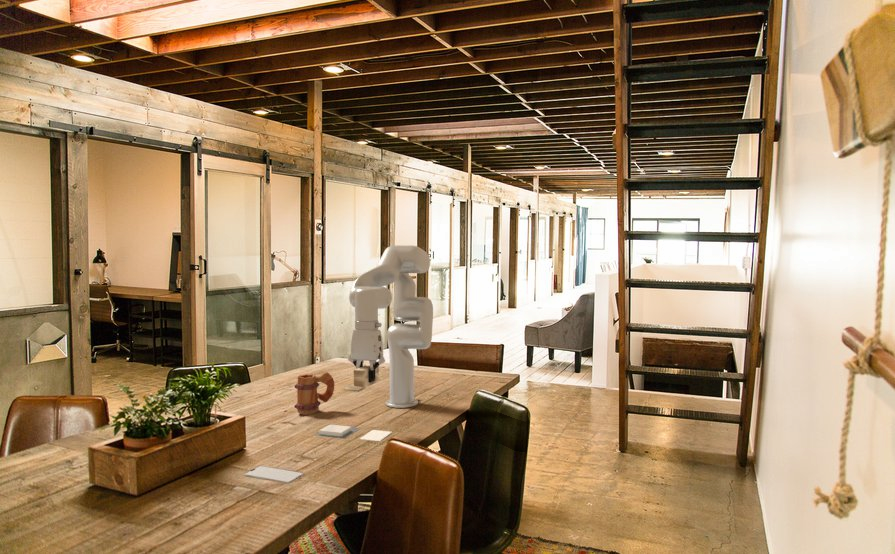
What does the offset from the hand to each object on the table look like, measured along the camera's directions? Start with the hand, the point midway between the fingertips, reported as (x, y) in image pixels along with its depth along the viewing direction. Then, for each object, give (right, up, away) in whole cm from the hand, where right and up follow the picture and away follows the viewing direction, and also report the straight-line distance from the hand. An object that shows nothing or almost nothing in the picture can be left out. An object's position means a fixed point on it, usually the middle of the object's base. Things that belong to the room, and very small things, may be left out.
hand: (366, 380), depth 201 cm
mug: (-23, -17, +26) cm, 38 cm away
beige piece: (-1, -2, -2) cm, 3 cm away
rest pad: (+4, -18, -3) cm, 18 cm away
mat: (-10, -18, +1) cm, 20 cm away
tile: (-9, -16, +3) cm, 19 cm away
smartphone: (-20, -20, -36) cm, 46 cm away
